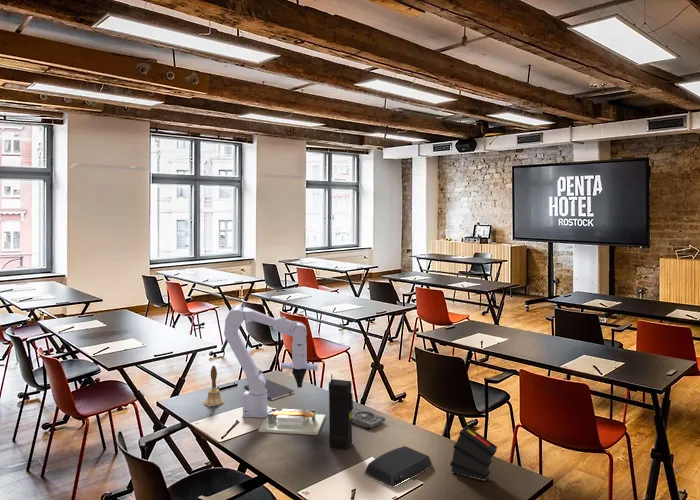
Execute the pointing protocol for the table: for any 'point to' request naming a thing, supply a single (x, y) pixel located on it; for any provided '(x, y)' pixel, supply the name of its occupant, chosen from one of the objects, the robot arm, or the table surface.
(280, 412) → the strap
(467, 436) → the magazine
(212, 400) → the hand bell
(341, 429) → the portable radio
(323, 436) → the table surface
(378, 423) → the graphics card
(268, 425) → the heatsink board
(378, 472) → the external hard drive
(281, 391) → the notebook
